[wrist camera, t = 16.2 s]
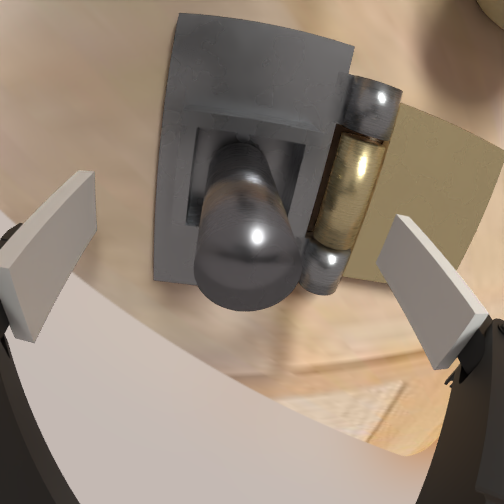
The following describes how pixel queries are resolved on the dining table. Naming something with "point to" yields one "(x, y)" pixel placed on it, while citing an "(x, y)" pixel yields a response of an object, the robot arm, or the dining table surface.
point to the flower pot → (493, 10)
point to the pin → (244, 234)
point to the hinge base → (257, 128)
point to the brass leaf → (407, 189)
